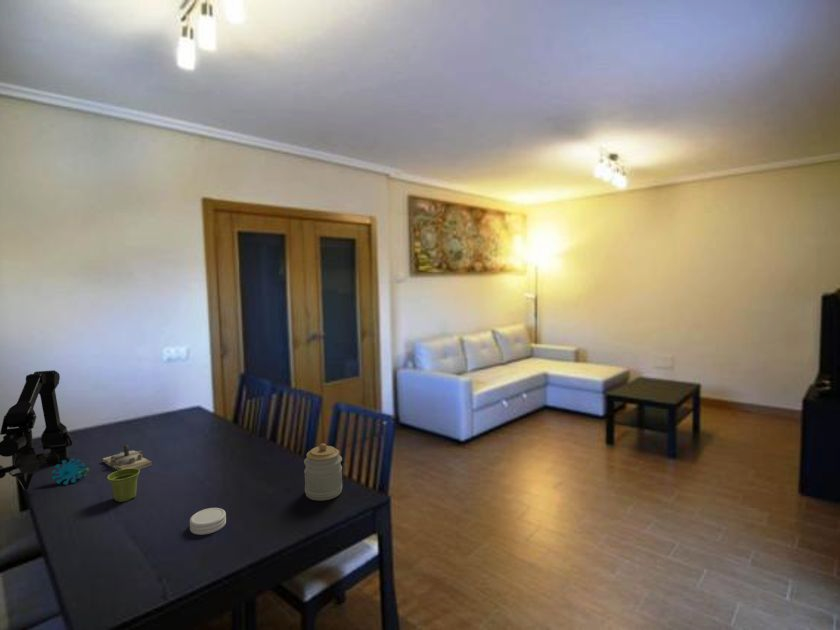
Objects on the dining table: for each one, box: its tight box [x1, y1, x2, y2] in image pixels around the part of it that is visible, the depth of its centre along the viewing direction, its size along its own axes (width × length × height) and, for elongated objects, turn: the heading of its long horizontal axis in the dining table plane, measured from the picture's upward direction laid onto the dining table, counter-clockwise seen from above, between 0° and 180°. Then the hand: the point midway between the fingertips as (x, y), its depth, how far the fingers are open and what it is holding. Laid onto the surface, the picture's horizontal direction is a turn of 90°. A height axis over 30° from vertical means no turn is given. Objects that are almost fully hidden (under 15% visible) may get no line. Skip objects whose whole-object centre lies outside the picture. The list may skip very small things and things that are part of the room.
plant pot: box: [106, 468, 141, 503], centre depth 155 cm, size 9×9×9 cm
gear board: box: [102, 444, 153, 471], centre depth 184 cm, size 20×11×8 cm, turn 55°
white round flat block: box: [189, 507, 227, 536], centre depth 138 cm, size 10×10×4 cm
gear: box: [51, 457, 90, 486], centre depth 170 cm, size 11×6×10 cm
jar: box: [303, 443, 343, 502], centre depth 159 cm, size 13×13×18 cm
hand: (25, 489), depth 158 cm, fingers closed
